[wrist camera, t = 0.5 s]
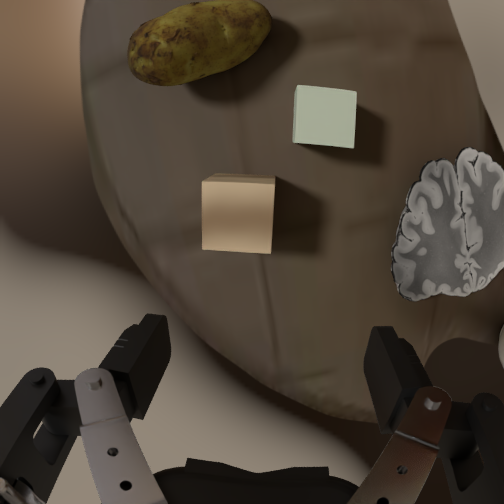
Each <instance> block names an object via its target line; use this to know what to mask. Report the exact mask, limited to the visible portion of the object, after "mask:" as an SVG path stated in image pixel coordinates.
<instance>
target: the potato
mask: <svg viewBox="0 0 504 504" xmlns="http://www.w3.org/2000/svg"><path fill="white" fill-rule="evenodd" d="M271 27H272V17H271V15H270V13H269V11H268V10H267V9H266V8H265V7H264V6H263V5H262V4H260V3H258V2H256V1H253V0H216V1H208V2H200V3H199V2H196V3H195V2H193V3H190V4H187V5H183V6H180V7H177V8H175V9H173V10H171V11H170V12H168V13H166V14H165V15H163V16H161V17H157V18H155V19H152V20H150V21H148V22H145V23H143V24H142V25H141V26H140V27H139V28H138V29H137V30H136V31H135V32H134V33H133V34H132V36H131V38H130V42H129V45H128V54H127V56H128V65H129V68H130V70H131V72H132V74H133V75H134V76H135V77H136V78H138V79H139V80H141V81H143V82H146V83H149V84H153V85H159V86H175V85H182V84H184V83H188V82H191V81H195V80H198V79H201V78H204V77H206V76H209V75H211V74H215V73H220V72H223V71H226V70H228V69H230V68H232V67H234V66H236V65H238V64H240V63H241V62H243V61H245V60H246V59H247V58H249V57H250V56H251V55H253V54H254V53H255V52H256V51H257V49H258V48H259V47H260V45H261V44H262V42H263V41H264V39H265V38H266V37H267V35H268V34H269V32H270V30H271Z"/></svg>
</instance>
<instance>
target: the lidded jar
mask: <svg viewBox="0 0 504 504" xmlns="http://www.w3.org/2000/svg"><path fill="white" fill-rule="evenodd" d="M498 348H499V349H498V352H499V357H500V361H501V363H502V365H503V367H504V325H503V326H502V329H501V331H500V335H499V345H498Z"/></svg>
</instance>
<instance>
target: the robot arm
mask: <svg viewBox="0 0 504 504" xmlns="http://www.w3.org/2000/svg"><path fill="white" fill-rule="evenodd" d="M170 357H171V343H170V337H169V329H168V323H167V318H166V316H165V315H156V314H146V315H145V316H144V318H143V319H142V321H141V322H140V323H139V325H137V324H133V325H132V326H130V327H129V328H127V329H126V330H124V332H123V333H122V334H121V336H120V337H119V340H117V341H116V343H115V344H114V347H112V348H111V350H110V351H109V352H108V354H107V355H106V357H105V358H104V360H103V361H102V363H101V364H100V365H99V367H98V368H91V369H87V370H85V371H83V372H81V373H80V374H79V375H78V376H77V378H76V379H75V380H56V377H55V375H54V373H53V372H52V371H51V370H50V369H48V368H36V369H33V370H31V371H29V372H28V373H26V374H25V375H24V377H23V378H22V379H21V380H20V382H19V383H18V384H17V386H16V387H15V388H14V390H13V391H12V392H11V394H10V395H9V396H8V398H7V399H6V400H5V402H4V403H3V404H2V406H1V407H0V504H46V503H47V501H48V498H49V496H50V493H51V491H52V489H53V487H54V485H55V483H56V480H57V478H58V476H59V474H60V471H61V469H62V467H63V465H64V463H65V461H66V459H67V457H68V455H69V452H70V450H71V448H72V446H73V444H74V442H75V440H76V438H77V436H82V440H83V444H84V448H85V452H86V455H87V458H88V462H89V466H90V469H91V472H92V476H93V479H94V482H95V485H96V488H97V491H98V494H99V496H100V499H101V502H102V503H101V504H414V502H415V501H416V499H417V497H418V495H419V493H420V491H421V489H422V487H423V485H424V483H425V481H426V479H427V477H428V474H429V472H430V470H431V468H432V465H433V463H434V461H435V459H436V458H442V462H443V465H444V469H445V473H446V476H447V480H448V484H449V488H450V492H451V496H452V500H453V504H504V405H503V403H502V401H501V400H500V399H499V398H498V397H497V396H495V395H493V394H490V393H479V394H477V395H476V396H475V397H474V399H473V400H472V402H471V403H463V402H454V401H452V400H451V397H450V396H449V394H448V393H447V392H445V391H444V390H443V389H441V388H438V387H434V386H433V385H432V383H431V381H430V379H429V377H428V375H427V373H426V371H425V369H424V367H423V365H422V363H420V362H421V361H420V359H419V358H418V356H417V354H416V352H415V350H414V348H413V346H412V345H411V344H410V343H408V342H407V341H406V340H405V339H404V338H398V336H397V334H396V332H395V330H394V328H393V327H392V326H374V327H373V328H372V330H371V334H370V338H369V342H368V346H367V350H366V353H365V357H364V374H365V377H366V380H367V384H368V387H369V391H370V394H371V398H372V401H373V405H374V409H375V412H376V416H377V420H378V423H379V427H380V431H381V434H388V433H392V437H391V439H390V441H389V443H388V444H387V446H386V447H385V449H384V451H383V453H382V454H381V456H380V457H379V459H378V460H377V462H376V463H375V465H374V466H373V468H372V469H371V471H370V472H369V474H368V475H367V477H366V478H365V480H364V481H363V482H362V484H361V485H360V487H358V486H357V485H355V484H353V483H351V482H349V481H347V480H344V479H341V478H338V477H334V476H329V468H328V467H293V468H287V469H281V470H276V471H270V472H263V473H254V472H250V471H247V470H243V469H240V468H237V467H233V466H230V465H227V464H224V463H220V462H212V461H205V460H198V459H192V458H187V461H186V465H185V467H176V468H170V469H165V470H162V471H160V472H157V473H155V474H152V472H151V470H150V468H149V466H148V464H147V461H146V459H145V457H144V455H143V453H142V451H141V448H140V446H139V444H138V442H137V439H136V437H135V435H134V433H133V430H132V428H131V425H130V422H131V420H132V418H137V419H141V420H143V419H144V416H145V414H146V412H147V410H148V408H149V405H150V403H151V401H152V399H153V396H154V394H155V392H156V390H157V388H158V385H159V383H160V381H161V379H162V377H163V374H164V372H165V370H166V368H167V366H168V363H169V361H170ZM41 421H42V422H43V424H42V425H41V427H40V429H39V430H38V432H37V434H36V436H35V438H34V439H33V435H34V432H35V431H36V429H37V427H38V426H39V424H40V422H41ZM478 449H479V450H480V452H481V455H482V458H483V461H484V466H483V463H482V461H481V458H480V455H479V452H478Z"/></svg>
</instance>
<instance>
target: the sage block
mask: <svg viewBox="0 0 504 504" xmlns="http://www.w3.org/2000/svg"><path fill="white" fill-rule="evenodd" d="M356 96H357V92H356V91H349V90H341V89H333V88H324V87H315V86H304V85H297V88H296V91H295V98H294V121H293V142H294V143H305V144H317V145H327V146H337V147H346V148H354V137H355V120H356Z"/></svg>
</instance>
